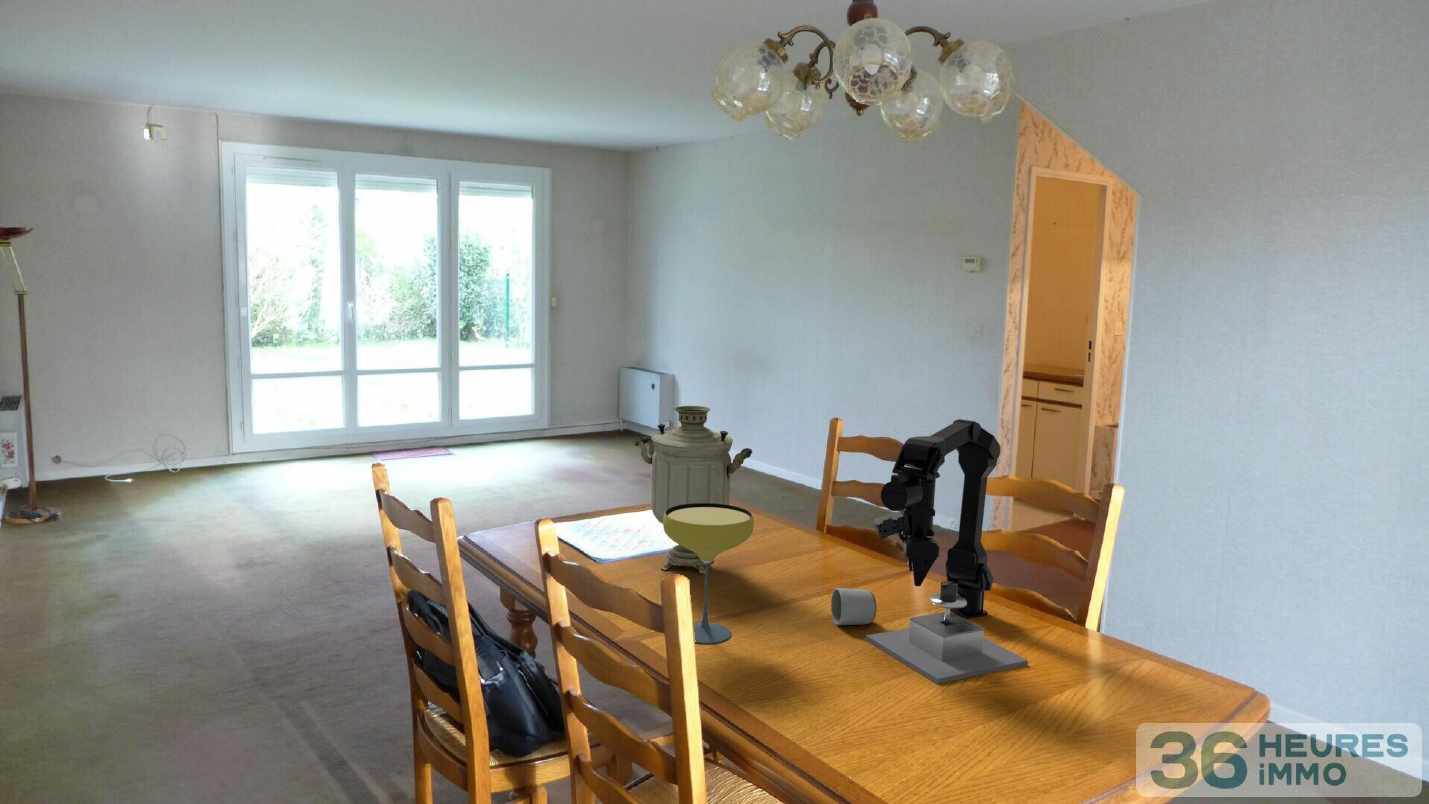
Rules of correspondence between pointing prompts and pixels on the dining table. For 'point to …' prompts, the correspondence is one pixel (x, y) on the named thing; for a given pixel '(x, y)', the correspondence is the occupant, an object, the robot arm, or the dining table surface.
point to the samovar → (689, 470)
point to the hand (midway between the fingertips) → (914, 578)
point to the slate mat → (947, 670)
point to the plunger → (948, 599)
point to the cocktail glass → (708, 545)
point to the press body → (946, 636)
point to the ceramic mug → (853, 606)
